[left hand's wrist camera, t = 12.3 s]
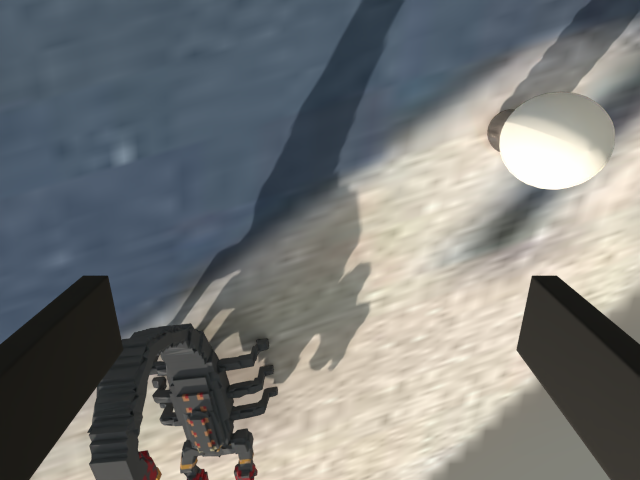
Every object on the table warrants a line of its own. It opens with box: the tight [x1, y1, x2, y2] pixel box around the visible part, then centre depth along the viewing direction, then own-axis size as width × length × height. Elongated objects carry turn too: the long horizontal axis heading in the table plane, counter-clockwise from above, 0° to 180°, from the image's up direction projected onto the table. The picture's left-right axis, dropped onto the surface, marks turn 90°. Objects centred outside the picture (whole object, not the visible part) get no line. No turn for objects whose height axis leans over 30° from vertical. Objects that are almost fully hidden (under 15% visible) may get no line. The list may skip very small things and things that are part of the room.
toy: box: [87, 324, 278, 480], centre depth 37 cm, size 13×27×18 cm, turn 7°
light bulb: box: [488, 92, 615, 189], centre depth 31 cm, size 7×7×11 cm
